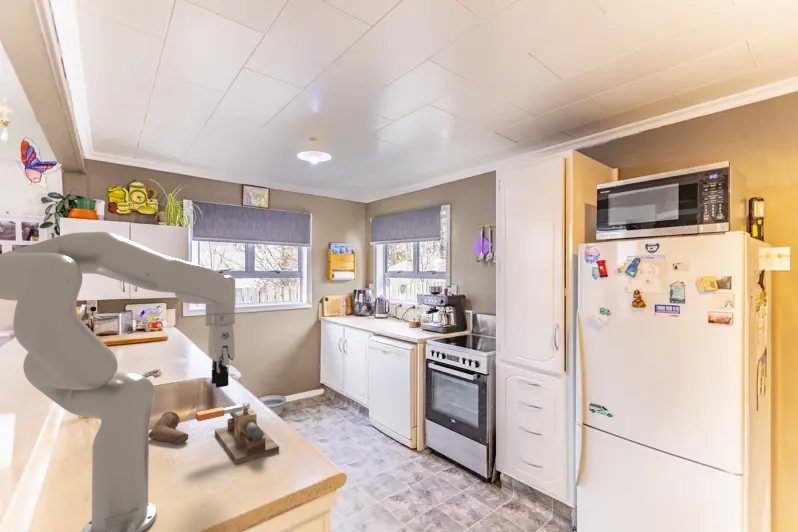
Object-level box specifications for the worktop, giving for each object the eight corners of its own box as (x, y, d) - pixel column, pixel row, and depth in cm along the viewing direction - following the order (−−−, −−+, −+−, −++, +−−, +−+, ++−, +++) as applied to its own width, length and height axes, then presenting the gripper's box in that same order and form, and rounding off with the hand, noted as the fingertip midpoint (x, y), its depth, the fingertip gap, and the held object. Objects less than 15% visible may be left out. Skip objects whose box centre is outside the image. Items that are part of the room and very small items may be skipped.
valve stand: (279, 451, 111) (279, 415, 111) (236, 464, 104) (236, 426, 104) (252, 424, 130) (252, 394, 130) (214, 434, 123) (215, 401, 123)
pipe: (177, 432, 113) (204, 415, 123) (137, 424, 119) (166, 408, 128) (179, 452, 114) (206, 433, 124) (140, 443, 120) (168, 426, 129)
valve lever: (251, 409, 117) (251, 403, 117) (197, 421, 108) (198, 415, 108) (248, 407, 119) (248, 401, 119) (196, 418, 110) (196, 412, 110)
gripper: (243, 321, 102) (242, 389, 102) (226, 315, 115) (226, 375, 115) (213, 323, 98) (212, 395, 98) (199, 317, 111) (198, 380, 111)
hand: (219, 384), depth 106 cm, fingers open, 3 cm apart
